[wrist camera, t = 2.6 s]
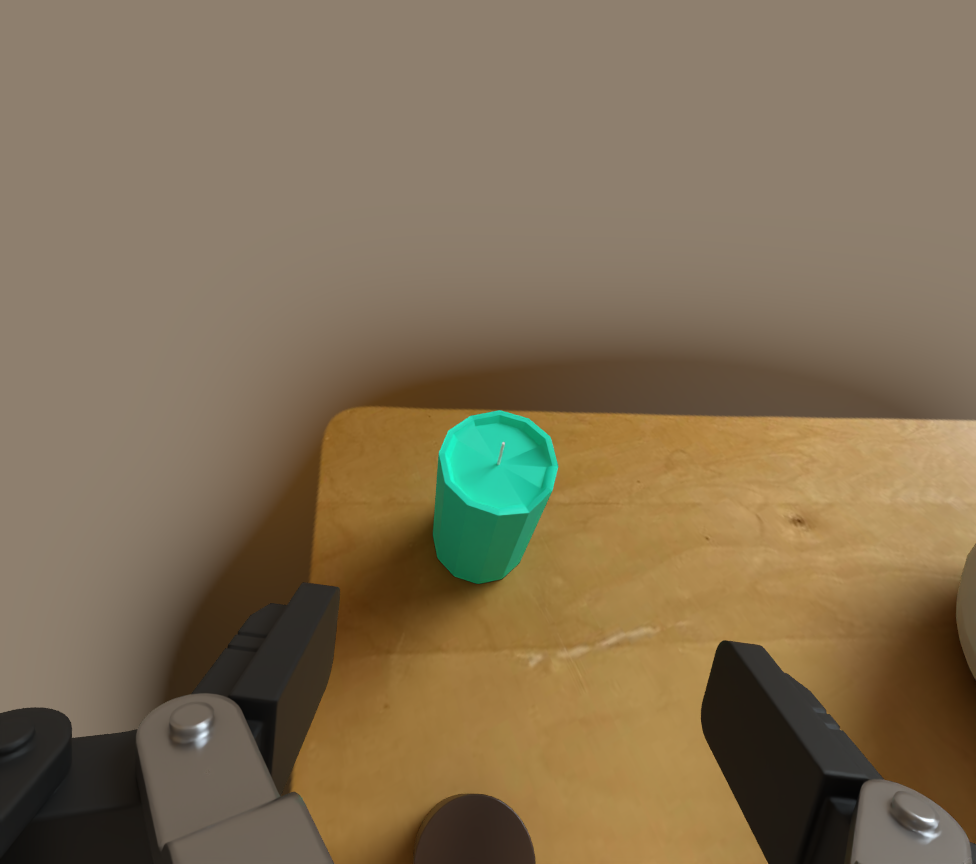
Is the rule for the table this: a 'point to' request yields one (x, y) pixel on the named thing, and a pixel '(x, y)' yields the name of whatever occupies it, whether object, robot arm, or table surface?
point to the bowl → (968, 610)
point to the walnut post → (472, 833)
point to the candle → (490, 493)
